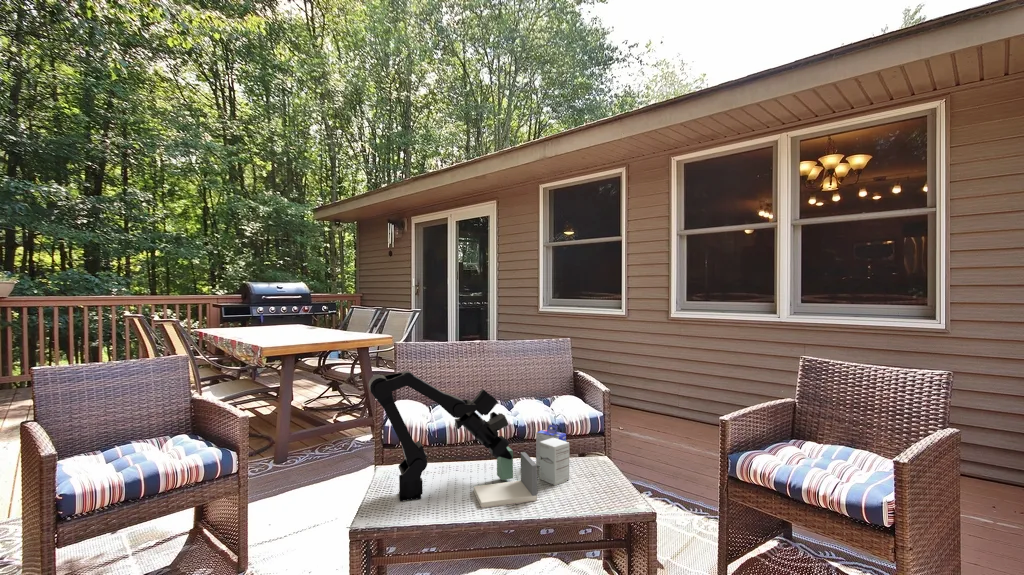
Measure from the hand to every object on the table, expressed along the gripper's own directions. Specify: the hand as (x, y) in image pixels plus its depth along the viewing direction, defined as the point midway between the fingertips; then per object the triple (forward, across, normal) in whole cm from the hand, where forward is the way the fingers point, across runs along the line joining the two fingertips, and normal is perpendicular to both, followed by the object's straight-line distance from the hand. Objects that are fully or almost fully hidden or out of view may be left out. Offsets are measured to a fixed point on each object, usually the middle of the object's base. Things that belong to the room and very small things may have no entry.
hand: (508, 455), depth 156 cm
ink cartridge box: (+19, +5, -7) cm, 21 cm away
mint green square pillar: (+4, 0, +6) cm, 7 cm away
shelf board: (+2, -11, +10) cm, 14 cm away
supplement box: (+16, -6, -4) cm, 17 cm away
